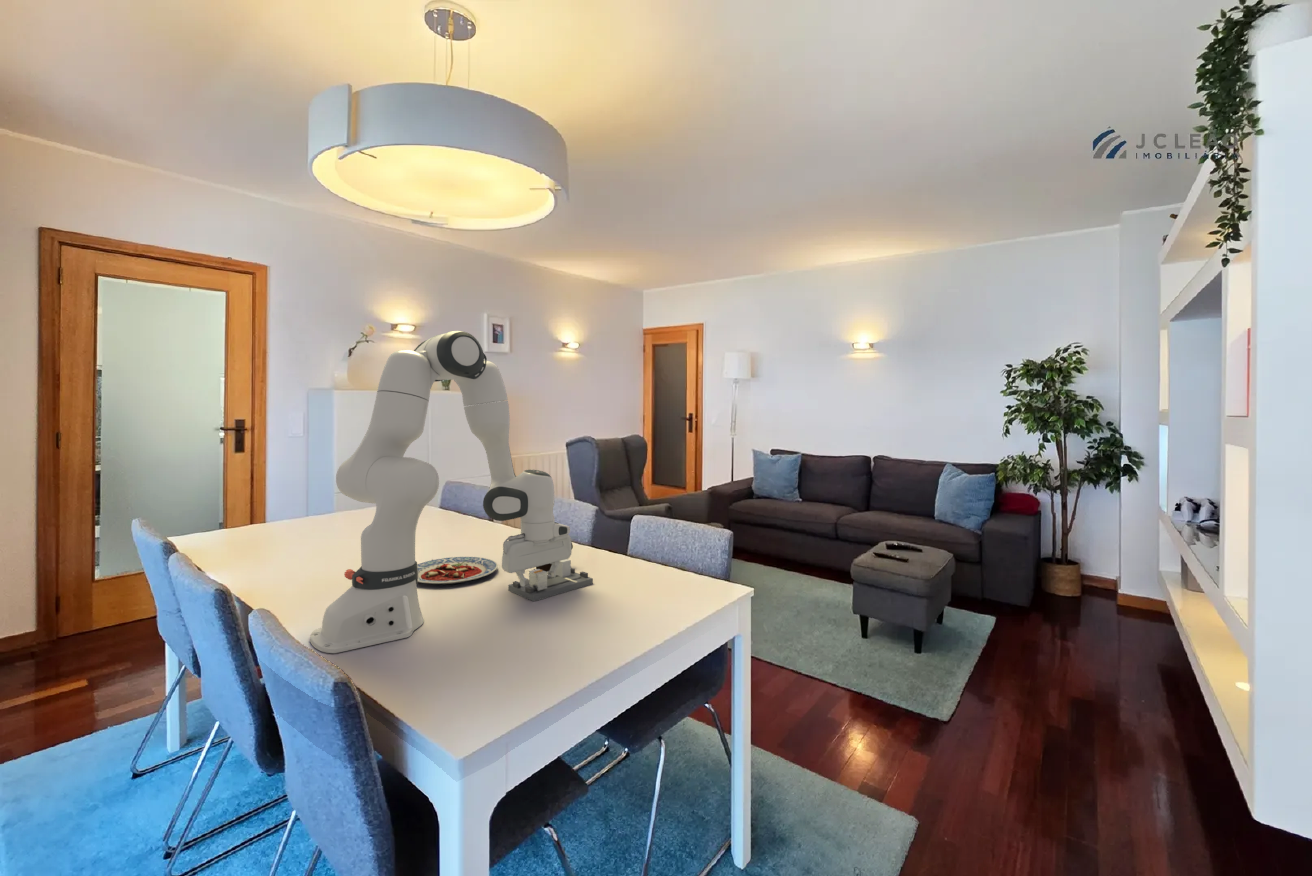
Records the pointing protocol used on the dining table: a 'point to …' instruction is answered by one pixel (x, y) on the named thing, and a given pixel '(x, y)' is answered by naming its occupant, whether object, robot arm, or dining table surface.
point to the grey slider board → (554, 583)
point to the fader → (538, 579)
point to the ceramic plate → (454, 569)
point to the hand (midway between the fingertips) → (538, 581)
